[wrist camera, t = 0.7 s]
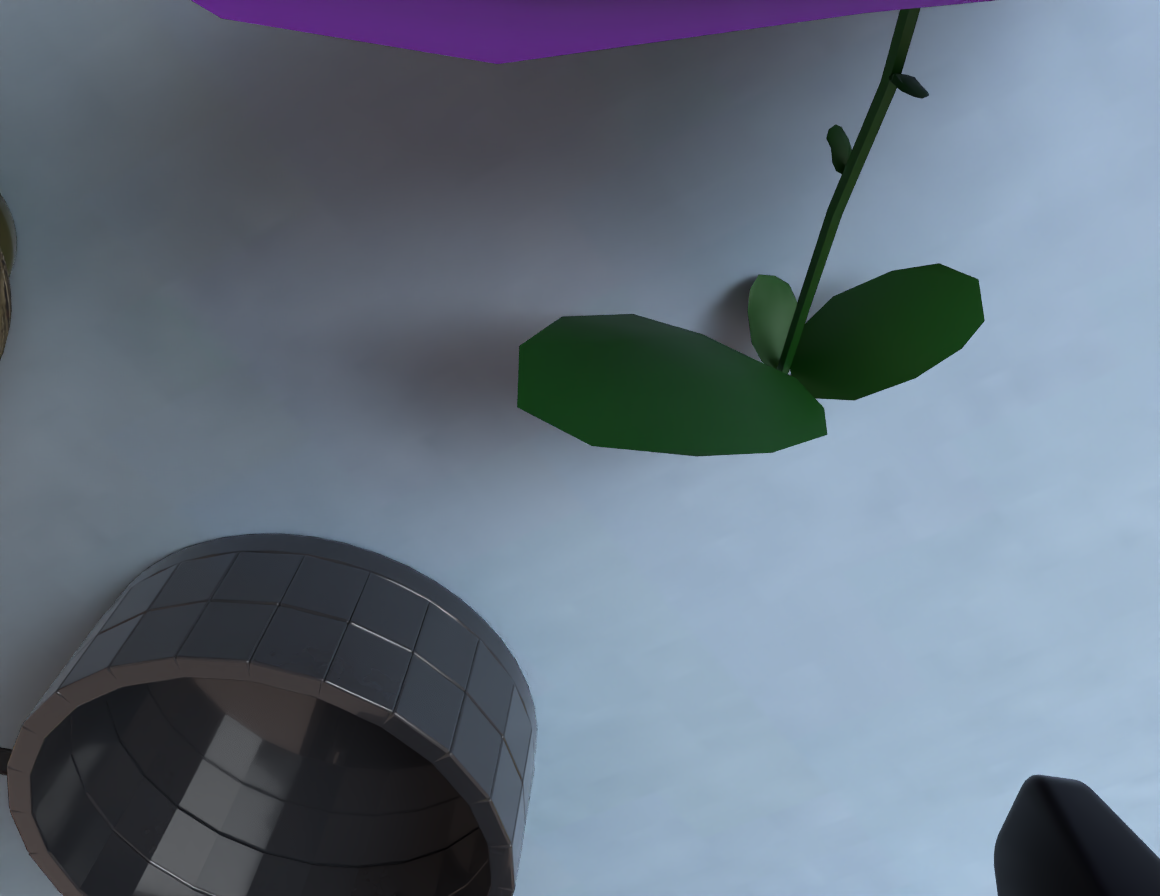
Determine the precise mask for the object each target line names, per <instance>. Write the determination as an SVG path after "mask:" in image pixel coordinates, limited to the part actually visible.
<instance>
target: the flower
mask: <svg viewBox="0 0 1160 896" xmlns="http://www.w3.org/2000/svg"><path fill="white" fill-rule="evenodd" d="M191 1H193V2H195V3H196V4H198V5H200V6H201V7H203V8H205V9H207V10H208V11H210V12H212V13H213V14H215V15H217V16H218V17H220V18H222V19H228V20H234V21H241V22H247V23H253V24H259V25H265V26H271V27H277V28H283V29H289V30H295V31H301V32H307V33H313V34H319V35H325V36H331V37H337V38H343V39H349V40H356V41H362V42H368V43H374V44H380V45H386V46H392V47H398V48H404V49H410V50H416V51H422V52H428V53H434V54H440V55H446V56H452V57H458V58H464V59H470V60H477V61H483V62H489V63H495V64H502V63H509V62H517V61H524V60H531V59H538V58H545V57H552V56H560V55H567V54H574V53H581V52H588V51H596V50H603V49H610V48H617V47H624V46H632V45H639V44H646V43H653V42H660V41H667V40H675V39H682V38H689V37H696V36H703V35H711V34H718V33H725V32H732V31H739V30H746V29H754V28H761V27H768V26H775V25H782V24H790V23H797V22H804V21H811V20H818V19H826V18H833V17H840V16H847V15H854V14H861V13H870V12H880V11H891V10H900V12H899V16H898V20H897V23H896V27H895V31H894V34H893V38H892V42H891V45H890V49H889V53H888V56H887V60H886V64H885V67H884V71H883V75H882V78H881V82H880V84H879V87H878V89H877V91H876V94H875V96H874V99H873V101H872V103H871V106H870V108H869V111H868V113H867V116H866V118H865V120H864V123H863V125H862V128H861V130H860V132H859V135H858V137H857V140H856V142H855V144H854V147H853V149H851V145H850V142H849V139H848V137H847V135H846V134H845V132H844V130H843V129H842V127H840V126H838V125H834V126H833V127H832V128H830V129H829V130H828V134H827V138H826V139H827V141H828V143H829V145H830V147H831V153H832V163H833V165H834V167H835V170H836V171H837V172H839V173H841V174H842V176H841V178H840V180H839V183H838V185H837V188H836V190H835V193H834V195H833V197H832V200H831V202H830V205H829V207H828V209H827V212H826V216H825V219H824V222H823V225H822V228H821V231H820V234H819V237H818V240H817V244H816V247H815V250H814V253H813V256H812V259H811V262H810V265H809V268H808V271H807V275H806V278H805V281H804V284H803V287H802V290H801V293H800V296H799V300H798V303H797V301H796V299H795V296H794V294H793V292H792V290H791V288H790V286H789V284H788V283H786V282H784V281H783V280H781V279H779V278H778V277H776V276H770V275H758V277H757V278H756V280H755V282H754V283H753V285H752V287H751V288H750V293H749V303H748V318H749V326H750V334H751V342H752V345H753V346H754V348H755V350H756V352H757V354H758V356H759V357H760V359H761V361H762V362H763V363H762V362H759V361H757V360H755V359H753V358H751V357H749V356H747V355H744V354H742V353H740V352H738V351H736V350H734V349H732V348H730V347H728V346H726V345H724V344H722V343H720V342H718V341H716V340H713V339H711V338H709V337H707V336H705V335H703V334H700V333H696V332H693V331H689V330H686V329H683V328H679V327H676V326H672V325H669V324H666V323H662V322H659V321H655V320H652V319H648V318H645V317H642V316H638V315H635V314H618V315H592V316H565V317H561V318H559V319H558V320H556V321H555V322H553V323H552V324H550V325H549V326H548V327H546V328H545V329H543V330H542V331H540V332H539V333H537V334H536V335H534V336H533V337H532V338H530V339H529V340H527V341H526V342H524V343H523V344H521V345H520V346H519V370H518V399H517V407H518V408H520V409H522V410H524V411H526V412H527V413H529V414H531V415H533V416H535V417H537V418H539V419H541V420H543V421H545V422H547V423H549V424H551V425H552V426H554V427H556V428H558V429H560V430H562V431H564V432H566V433H568V434H570V435H572V436H574V437H575V438H577V439H579V440H581V441H583V442H585V443H587V444H589V445H591V446H597V447H607V448H618V449H628V450H638V451H648V452H659V453H669V454H679V455H690V456H712V455H733V454H753V453H772V452H776V451H779V450H782V449H785V448H788V447H791V446H794V445H797V444H800V443H803V442H806V441H809V440H812V439H815V438H819V437H822V436H825V435H827V428H826V420H825V412H824V408H823V406H822V405H821V404H820V403H819V402H818V401H817V400H816V399H815V398H819V399H839V400H857V399H859V398H862V397H865V396H868V395H870V394H873V393H876V392H879V391H881V390H884V389H887V388H890V387H892V386H895V385H898V384H901V383H903V382H906V381H909V380H912V379H914V378H916V377H918V376H920V375H921V374H923V373H924V372H926V371H927V370H929V369H930V368H932V367H934V366H935V365H937V364H938V363H940V362H941V361H943V360H944V359H946V358H948V357H949V356H951V355H952V354H954V353H955V352H957V351H958V350H960V349H962V348H963V346H964V345H965V344H966V343H967V341H968V340H969V339H970V338H971V337H972V335H973V334H974V333H975V332H976V331H977V329H978V328H979V327H980V326H981V325H982V323H983V322H984V314H983V307H982V301H981V294H980V287H979V280H978V279H976V278H974V277H971V276H969V275H966V274H964V273H961V272H959V271H956V270H954V269H952V268H949V267H947V266H944V265H942V264H939V263H938V264H932V265H926V266H919V267H913V268H907V269H901V270H894V271H891V272H888V273H886V274H884V275H881V276H879V277H877V278H875V279H872V280H870V281H868V282H865V283H863V284H861V285H858V286H856V287H854V288H852V289H849V290H847V291H845V292H842V293H840V294H838V295H835V296H833V297H832V298H831V299H830V300H829V301H828V302H827V303H826V304H825V305H824V306H823V307H822V308H821V309H820V310H819V311H818V312H817V313H816V314H815V315H814V316H813V317H812V318H811V319H810V320H809V321H808V322H806V319H807V316H808V313H809V310H810V307H811V304H812V301H813V298H814V295H815V292H816V289H817V286H818V283H819V280H820V277H821V275H822V272H823V269H824V266H825V263H826V260H827V257H828V254H829V251H830V248H831V245H832V243H833V240H834V237H835V234H836V231H837V228H838V225H839V222H840V219H841V216H842V214H843V211H844V209H845V207H846V204H847V202H848V200H849V198H850V195H851V193H852V191H853V188H854V186H855V184H856V181H857V179H858V177H859V174H860V172H861V170H862V167H863V165H864V163H865V160H866V158H867V156H868V154H869V151H870V149H871V147H872V144H873V142H874V140H875V137H876V135H877V133H878V130H879V128H880V126H881V123H882V121H883V119H884V117H885V114H886V112H887V110H888V107H889V105H890V103H891V100H892V98H893V96H894V93H895V91H896V89H897V88H898V89H900V90H901V91H902V92H905V93H907V94H909V95H911V96H914V97H917V98H924V97H927V96H929V94H928V92H927V91H926V90H925V89H924V88H923V87H922V85H921V84H920V83H919V82H918V81H917V80H916V78H915V77H912V76H909V75H905V74H901V73H902V69H903V66H904V63H905V59H906V56H907V52H908V49H909V46H910V42H911V39H912V35H913V32H914V28H915V25H916V22H917V18H918V15H919V11H920V8H921V7H932V6H942V5H952V4H963V3H973V2H983V1H993V0H191ZM805 322H806V323H805ZM789 370H790V371H791V375H792V376H790V375H788V373H789Z"/></svg>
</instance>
